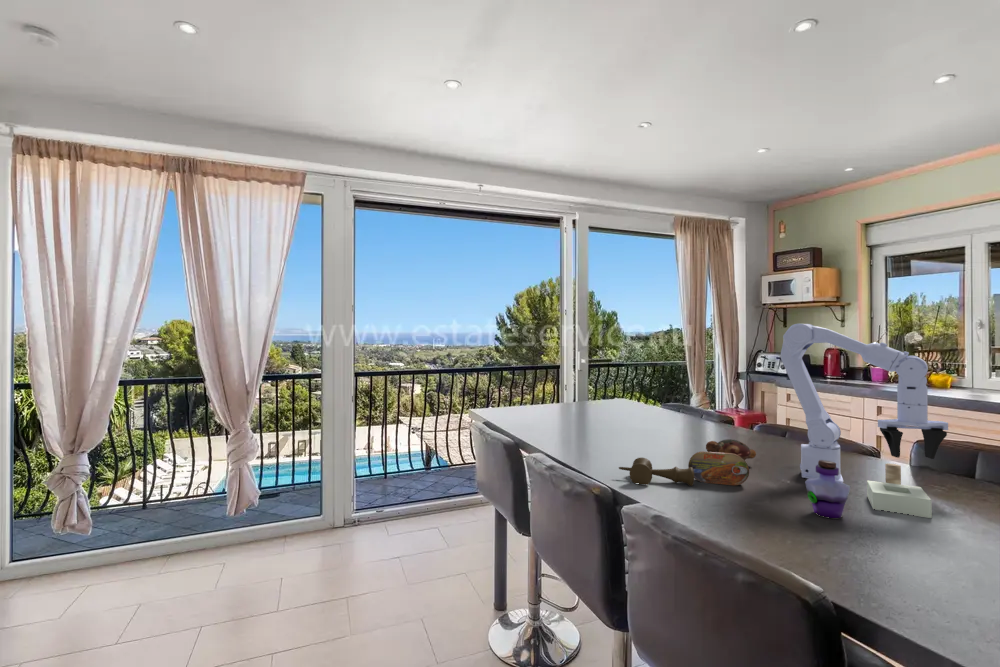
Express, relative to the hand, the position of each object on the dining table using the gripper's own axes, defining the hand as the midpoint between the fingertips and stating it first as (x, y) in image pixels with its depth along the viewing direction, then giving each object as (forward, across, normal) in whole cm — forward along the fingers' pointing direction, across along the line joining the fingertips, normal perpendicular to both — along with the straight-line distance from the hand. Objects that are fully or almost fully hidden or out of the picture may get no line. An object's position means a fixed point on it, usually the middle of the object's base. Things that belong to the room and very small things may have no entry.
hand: (912, 457), depth 116 cm
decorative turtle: (+10, -37, +20) cm, 43 cm away
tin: (+10, -46, +2) cm, 47 cm away
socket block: (+9, -10, -11) cm, 17 cm away
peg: (+9, -4, 0) cm, 10 cm away
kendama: (+10, -63, 0) cm, 63 cm away
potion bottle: (+9, -28, -19) cm, 35 cm away
